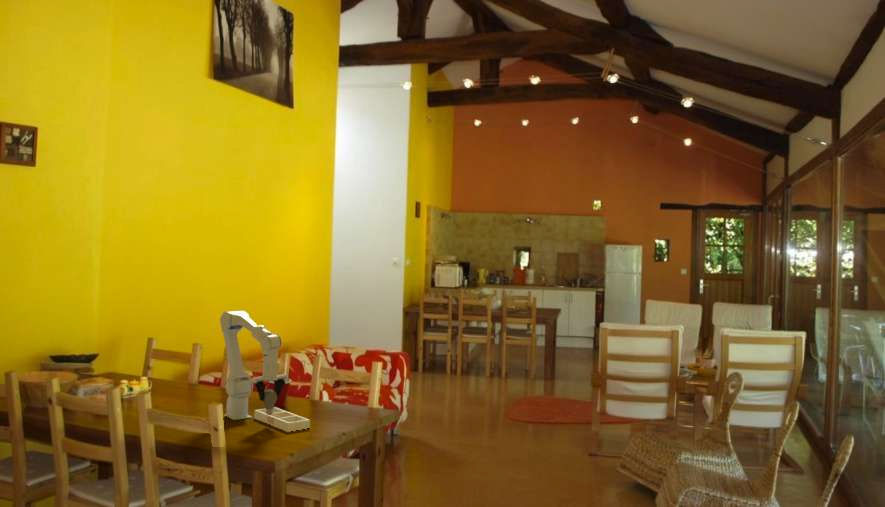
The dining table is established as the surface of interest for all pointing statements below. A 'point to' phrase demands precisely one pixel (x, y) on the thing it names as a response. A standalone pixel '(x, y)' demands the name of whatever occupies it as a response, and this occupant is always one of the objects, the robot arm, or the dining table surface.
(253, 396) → the dining table surface
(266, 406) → the light bulb
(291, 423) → the rack
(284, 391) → the plastic cup
